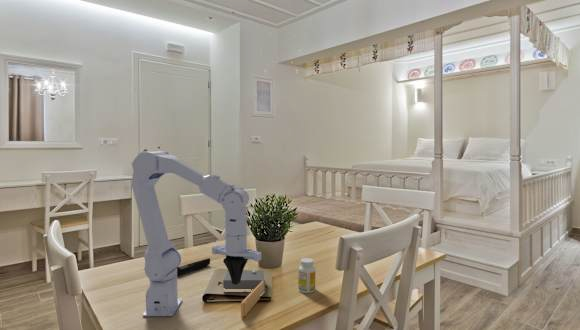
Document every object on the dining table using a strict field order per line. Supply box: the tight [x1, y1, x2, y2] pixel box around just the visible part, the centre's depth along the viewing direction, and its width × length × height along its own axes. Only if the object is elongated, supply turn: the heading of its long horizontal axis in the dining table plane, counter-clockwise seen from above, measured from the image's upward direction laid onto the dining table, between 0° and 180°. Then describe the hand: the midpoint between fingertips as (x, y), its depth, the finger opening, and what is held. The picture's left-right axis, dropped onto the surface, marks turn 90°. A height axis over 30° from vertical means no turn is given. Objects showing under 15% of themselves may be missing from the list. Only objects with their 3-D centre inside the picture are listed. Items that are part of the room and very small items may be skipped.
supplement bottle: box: [297, 257, 316, 294], centre depth 108 cm, size 5×5×10 cm
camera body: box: [222, 269, 265, 290], centre depth 110 cm, size 9×12×4 cm
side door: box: [240, 279, 266, 319], centre depth 98 cm, size 1×16×4 cm, turn 163°
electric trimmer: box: [177, 257, 211, 278], centre depth 124 cm, size 4×16×3 cm, turn 139°
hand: (236, 282), depth 93 cm, fingers closed
